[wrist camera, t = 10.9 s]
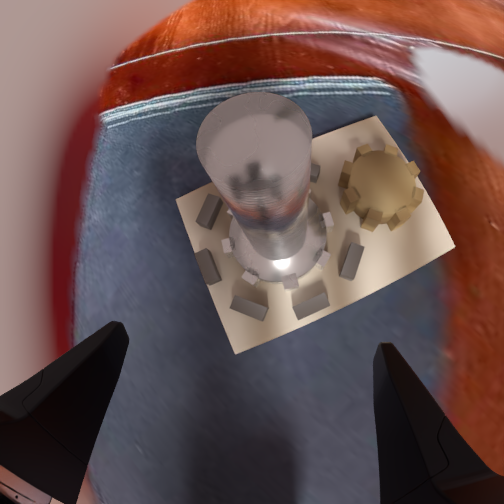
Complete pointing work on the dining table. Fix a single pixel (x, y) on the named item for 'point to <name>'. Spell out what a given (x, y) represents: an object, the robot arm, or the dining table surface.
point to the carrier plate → (337, 242)
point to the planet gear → (265, 186)
